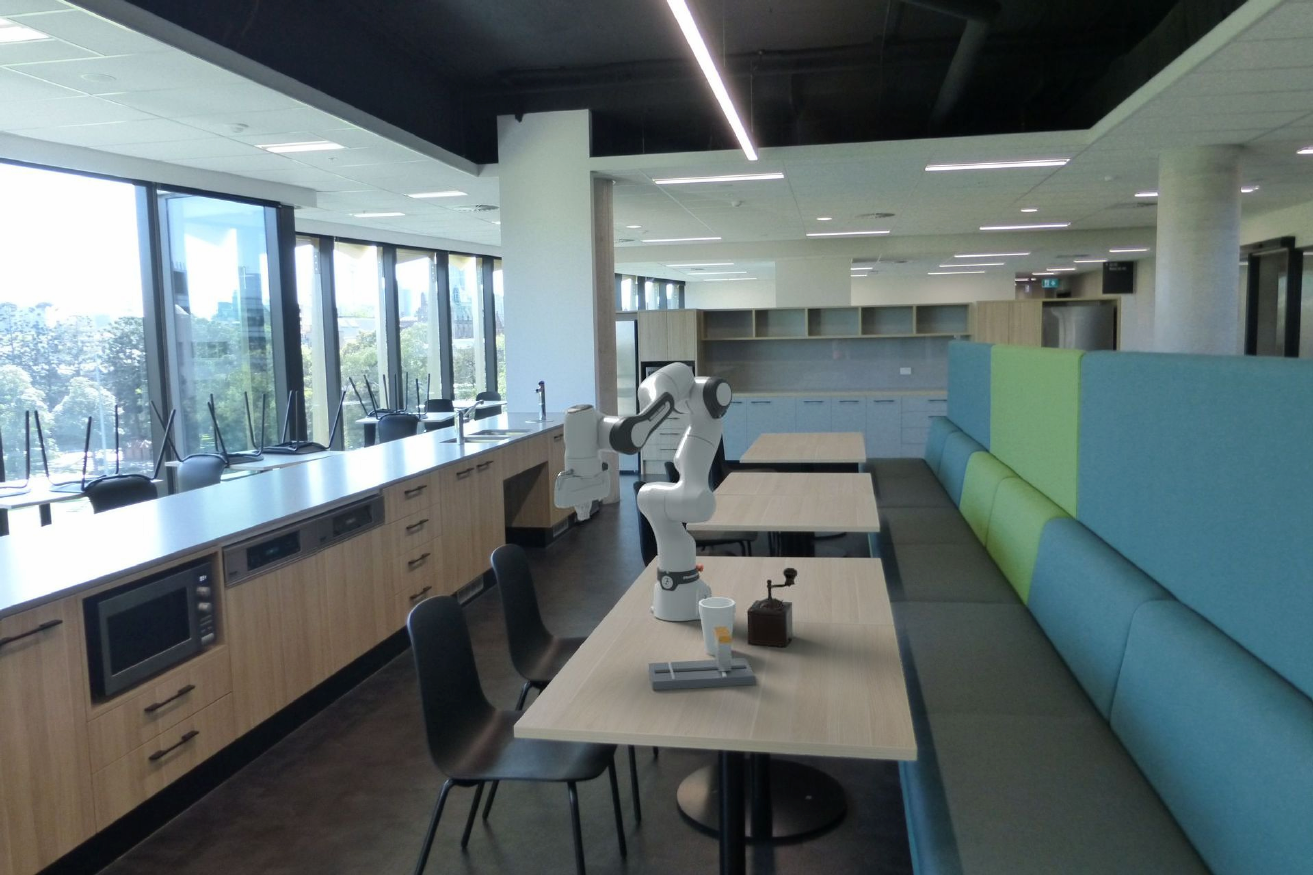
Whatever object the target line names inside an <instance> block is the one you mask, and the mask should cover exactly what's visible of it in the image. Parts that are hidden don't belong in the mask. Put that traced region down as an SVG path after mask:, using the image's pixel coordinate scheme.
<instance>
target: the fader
mask: <svg viewBox="0 0 1313 875" xmlns="http://www.w3.org/2000/svg"><path fill="white" fill-rule="evenodd" d="M714 634H715V655H714V660H715V663H716V666H717V668H718V670H719V671H731V659H732V640H731V634H730V633H729V631H728V629H727V627H714Z"/></svg>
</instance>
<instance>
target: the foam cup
mask: <svg viewBox="0 0 1313 875" xmlns="http://www.w3.org/2000/svg"><path fill="white" fill-rule="evenodd" d="M736 610H737V607H736V601H735V600H734V599H731V598H727V597H720V596H719V597H718V596H717V597H716V596H715V597H712V598H706V599H702V600H701V601H699V613H700V617H701V619H700V623H701V628H702V635H703V642H704V643H703V644H704V649H705V653H706V654H708V655H710V656H715V634H714V627H727V629H728V631H729V633H730V634H731V641H733V640H732V638H733V630H734V622H735V614H736Z"/></svg>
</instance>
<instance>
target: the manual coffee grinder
mask: <svg viewBox="0 0 1313 875" xmlns="http://www.w3.org/2000/svg"><path fill="white" fill-rule="evenodd" d="M782 574H783V576H784V578H785V581H784V583H782V584H772V579H767V580H766V588H767V598H764V599H761V600H759V599H757V600H755V601H754V602H753V603H752V605H751V606H750V607H749V608H748V609H747V612H746V614H747V644H748V645H751V646H762V647H772V648H787V646H788V645H789V644H790V643H791V641H792V640H793V639H794V638H793V637H794V636H793V635H794V634H793V633H794V632H793V602H790V601H784V599H782V600H780V599H778V598H776V597H772V589H774V588H776V589H777V588H784V587H789V588H790V587H791V586H792V585H796V583H795V579H796V577H797V576H798V571H797V569H795V568H793V567H786V568H784V569H783V571H782Z"/></svg>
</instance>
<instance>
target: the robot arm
mask: <svg viewBox="0 0 1313 875" xmlns="http://www.w3.org/2000/svg"><path fill="white" fill-rule="evenodd" d="M637 397H638V402H639V404H640V406H641V409H642V410H641V411H640V412H639V413H638V414H637V415H632V416H631V415H629V416H619V415H609V414H608V415H606V414H605V413H602V412H601V411H598V410H597V409H596V408H595V407H594V405H593V404H586V403H585V404H578V405H577V404H576V405H574V406H573V405H572V406H571V407H569V408H568V409H566V411H565V413H564V419H563V442H564V446H565V452H564V470H563V471H561V472H559V474H558V475H557V476H556V481H555V483H554V494H553V497H554V498H553V502H554V504H553V505H554V506H555V507H556V508H558V509H568V508H572V507H573V508H574V510H575V512H576V514H577V516H576V517H577V520H578V521H584V520H589V519H590V511H591V510H592V506H593V501H596V500H600V499H604V498H607V497H609V495H610V493H611V476H610V472H609V470H611V464H610V462H609V461H606V460H602V459H599V452H600V451H601V452H607V453H608V452H609V453H618V454H622V455H628V456H634V455H637V454H638V453H639V452H640V451H641V450H642V449H643V448H644V447H645V445H646V444H647V441H648V440H649V438H650V437H651V436H652V434H653V433H654V432H655V431H656V430H657V429H658V428H659V427H660V426H661V425H662V424H663V423H664V422H665V421H666V420H667V419H668V418H669V417H670V415H671V414H672V413H676V414H679V415H684V414H688V415H689V423H688V425H687V427H686V429H685V431H684V432H683V435H682V438H681V440H680V442H679V444H678V447H677V449H676V452H675V454H674V456H673V465H674V468H675V469H676V470H677V472H678V473H679V474H680V476H679V480H678V481H677V482H667V481H653V482H648V483H645V484H643V485H642V486H641V488H640V489H639V491H638V494H637V495H636V496H637V497H636V504H637V507H638V510H639V511H640V512H641V513H642V514H643V515H644V517H645V518H646V519H647V521H648V522H649V524H650V526H651V528H652V531H653V532H654V536H655V540H656V544H657V545H656V547H657V560H658V562H657V563H658V564H657V565H658V566H657V567H656V579H657V582H655V584H654V590H653V605H651V606H650V612H652V613H653V616H654V617H655V618H657V619H659V620H663V621H669V622H684V621H685V622H687V621H693V620H701V617H700V613H699V601H701V600H702V599H706V598H713V597H712V596H713V594H712V588H711V586H710V585H709V584H707V583H706V582H705V581H704V580H703V579H702V578H701V577H700V573H702V572H704V565H703V564H697V550H696V549H697V548H696V547H697V546H696V545H697V544H696V541H695V539H694V538H693V536H692V535H691V534H690V533H689V532H688V531H687V530H686V529H685V527H684V525H683V523H686V524H700V523H706V522H709V521H710V520H711V519H712V518H713V516H714V515H715V512H716V509H717V500H716V497H715V495H714V494H715V493H713V491H712V490H711V488H710V486H709V485H710V484H709V474H710V471H711V467H712V464H713V461H714V458H715V456H716V453H717V451H718V448H719V445H720V442H721V438H722V434H723V429H724V423H723V419H722V418H723V417H724V416H725V415H726V413H727V412H728V411H727V410H728V409H729V408H730V406H731V405H730V404H731V403H732V400H733V390H732V387H731V384H730V382H729V381H728V380H727V379H726V378H723V377H720V376H694V373H693V370H692V369H691V368H690V367H689V366H688V364H686V363H682V362H672V363H670V364H667V365H666V366H665V365H664V366H663V367H662V368H660V369H658V370H656V371H655V372H653V373H651V374H650V375H649V376H647V377H646V378H645V379H644V380H643V381H642V382H641V383H640V385H639V386H638V390H637Z"/></svg>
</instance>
